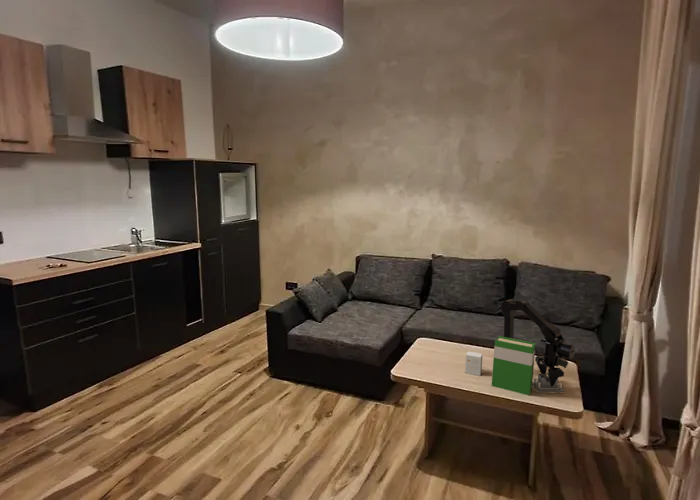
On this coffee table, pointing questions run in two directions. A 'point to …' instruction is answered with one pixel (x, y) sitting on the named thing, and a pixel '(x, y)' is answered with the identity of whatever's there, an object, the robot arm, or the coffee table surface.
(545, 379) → the drive
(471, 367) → the small box
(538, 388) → the panel with knobs
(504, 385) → the hardback book
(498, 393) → the coffee table surface
